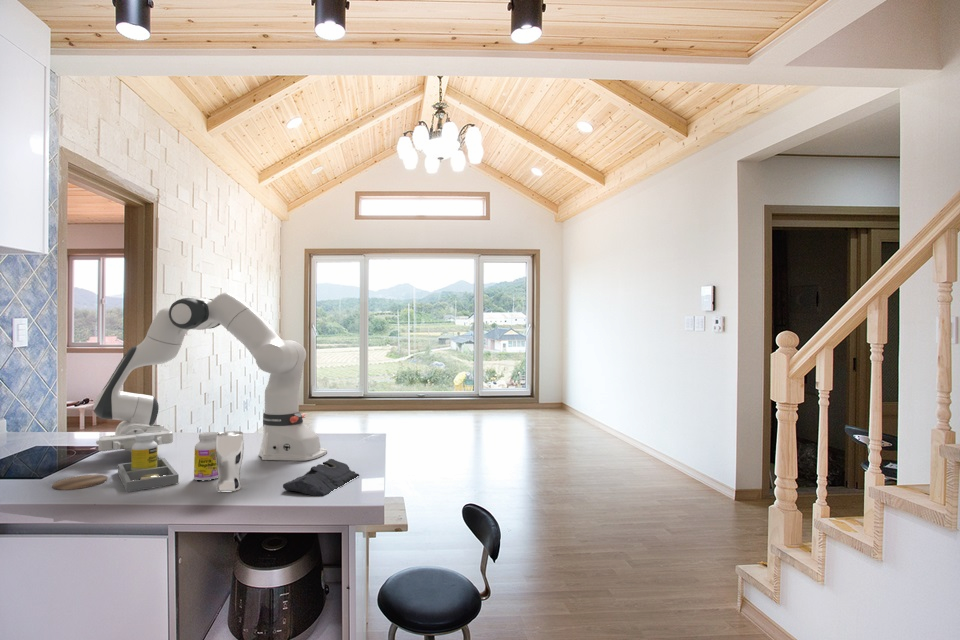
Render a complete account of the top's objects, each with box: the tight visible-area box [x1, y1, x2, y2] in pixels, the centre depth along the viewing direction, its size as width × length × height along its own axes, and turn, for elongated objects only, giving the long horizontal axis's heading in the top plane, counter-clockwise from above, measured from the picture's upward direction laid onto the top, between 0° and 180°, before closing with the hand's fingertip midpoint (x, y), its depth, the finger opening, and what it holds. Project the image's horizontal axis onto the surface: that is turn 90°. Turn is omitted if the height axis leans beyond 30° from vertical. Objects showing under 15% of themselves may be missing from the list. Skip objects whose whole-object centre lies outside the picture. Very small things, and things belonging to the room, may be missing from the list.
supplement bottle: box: [193, 431, 218, 481], centre depth 151 cm, size 7×7×13 cm
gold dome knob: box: [140, 474, 159, 480], centre depth 146 cm, size 4×4×2 cm
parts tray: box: [117, 457, 180, 493], centre depth 151 cm, size 23×12×2 cm, turn 39°
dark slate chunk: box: [282, 458, 360, 497], centre depth 147 cm, size 15×22×5 cm
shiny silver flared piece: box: [215, 430, 245, 492], centre depth 141 cm, size 7×7×15 cm
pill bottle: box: [130, 433, 159, 471], centre depth 155 cm, size 6×6×12 cm
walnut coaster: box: [52, 474, 108, 491], centre depth 145 cm, size 12×12×1 cm
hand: (139, 444), depth 164 cm, fingers open, 8 cm apart
